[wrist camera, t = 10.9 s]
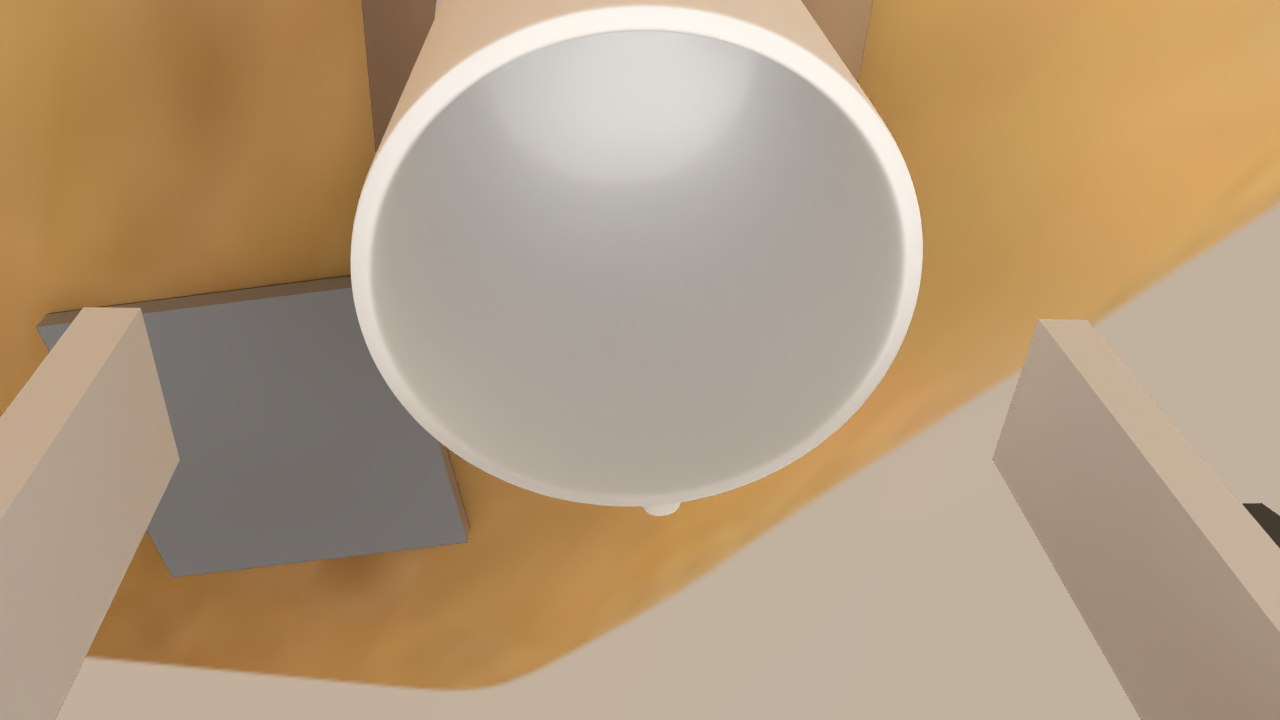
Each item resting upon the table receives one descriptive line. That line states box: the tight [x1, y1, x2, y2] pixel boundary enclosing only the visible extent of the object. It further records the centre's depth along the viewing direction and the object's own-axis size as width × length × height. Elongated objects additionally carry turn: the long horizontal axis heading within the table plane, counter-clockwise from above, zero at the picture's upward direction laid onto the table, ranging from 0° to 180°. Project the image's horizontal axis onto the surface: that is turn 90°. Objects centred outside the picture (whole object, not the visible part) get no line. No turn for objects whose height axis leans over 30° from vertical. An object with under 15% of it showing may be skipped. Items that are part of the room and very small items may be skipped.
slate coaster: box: [36, 276, 470, 578], centre depth 31 cm, size 10×10×1 cm
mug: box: [350, 0, 923, 516], centre depth 20 cm, size 12×8×12 cm
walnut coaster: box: [362, 0, 873, 152], centre depth 25 cm, size 12×12×1 cm
